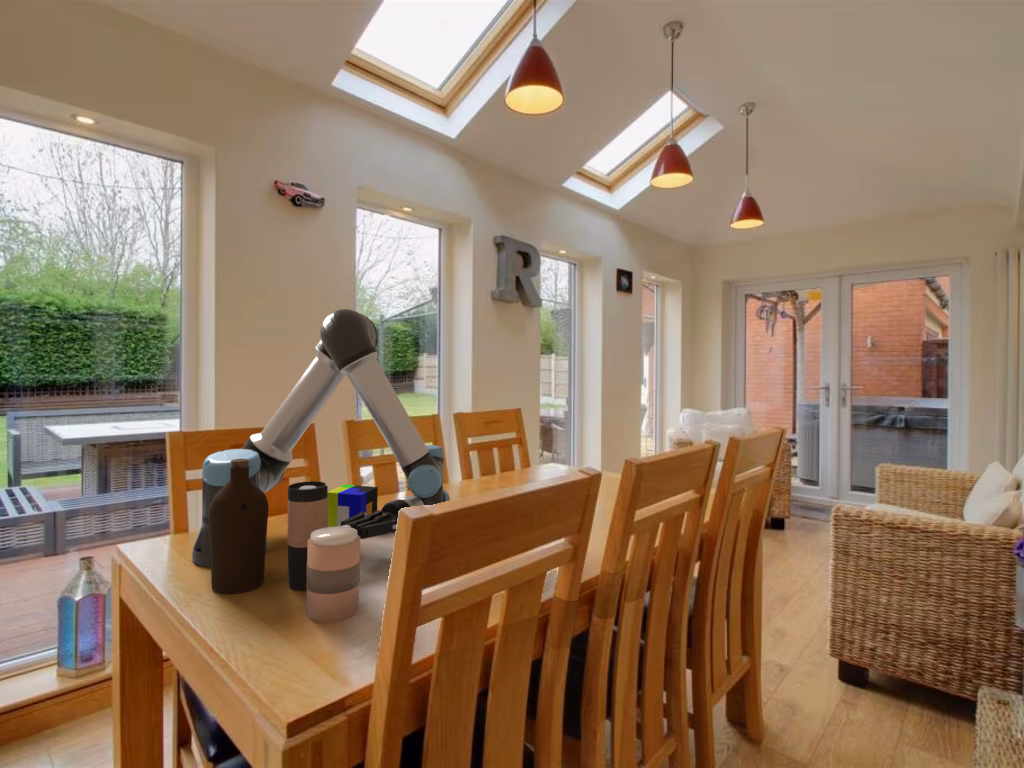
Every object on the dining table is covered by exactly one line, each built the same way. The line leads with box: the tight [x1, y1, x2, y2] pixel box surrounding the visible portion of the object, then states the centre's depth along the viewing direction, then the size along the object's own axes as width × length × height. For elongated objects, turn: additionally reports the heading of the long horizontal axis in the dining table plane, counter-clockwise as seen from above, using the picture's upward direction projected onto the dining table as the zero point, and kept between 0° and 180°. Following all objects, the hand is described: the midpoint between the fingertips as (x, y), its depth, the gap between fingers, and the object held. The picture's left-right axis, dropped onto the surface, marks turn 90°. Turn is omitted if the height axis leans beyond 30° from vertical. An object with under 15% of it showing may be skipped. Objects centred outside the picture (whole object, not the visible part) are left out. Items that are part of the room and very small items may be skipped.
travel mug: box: [286, 480, 329, 592], centre depth 109 cm, size 8×8×20 cm
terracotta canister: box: [305, 526, 361, 623], centre depth 98 cm, size 9×9×14 cm
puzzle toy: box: [328, 484, 379, 527], centre depth 149 cm, size 10×10×10 cm
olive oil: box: [209, 459, 270, 595], centre depth 108 cm, size 11×11×25 cm
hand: (324, 539), depth 113 cm, fingers closed
